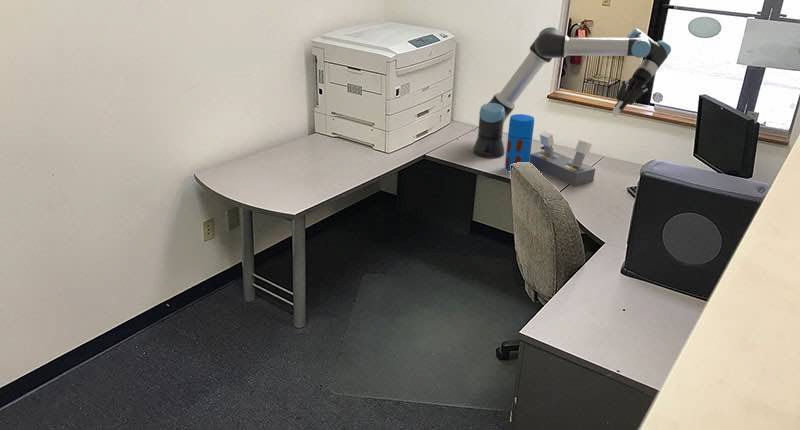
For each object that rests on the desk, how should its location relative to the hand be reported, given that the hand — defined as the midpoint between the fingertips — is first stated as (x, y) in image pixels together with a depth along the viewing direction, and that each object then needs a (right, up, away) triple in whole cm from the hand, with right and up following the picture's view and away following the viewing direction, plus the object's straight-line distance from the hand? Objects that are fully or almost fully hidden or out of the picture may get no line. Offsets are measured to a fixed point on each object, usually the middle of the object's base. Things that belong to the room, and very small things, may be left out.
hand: (613, 114), depth 277 cm
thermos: (-41, -24, +10) cm, 49 cm away
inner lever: (-26, -17, +11) cm, 33 cm away
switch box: (-22, -25, +8) cm, 34 cm away
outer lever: (-17, -23, 0) cm, 29 cm away
